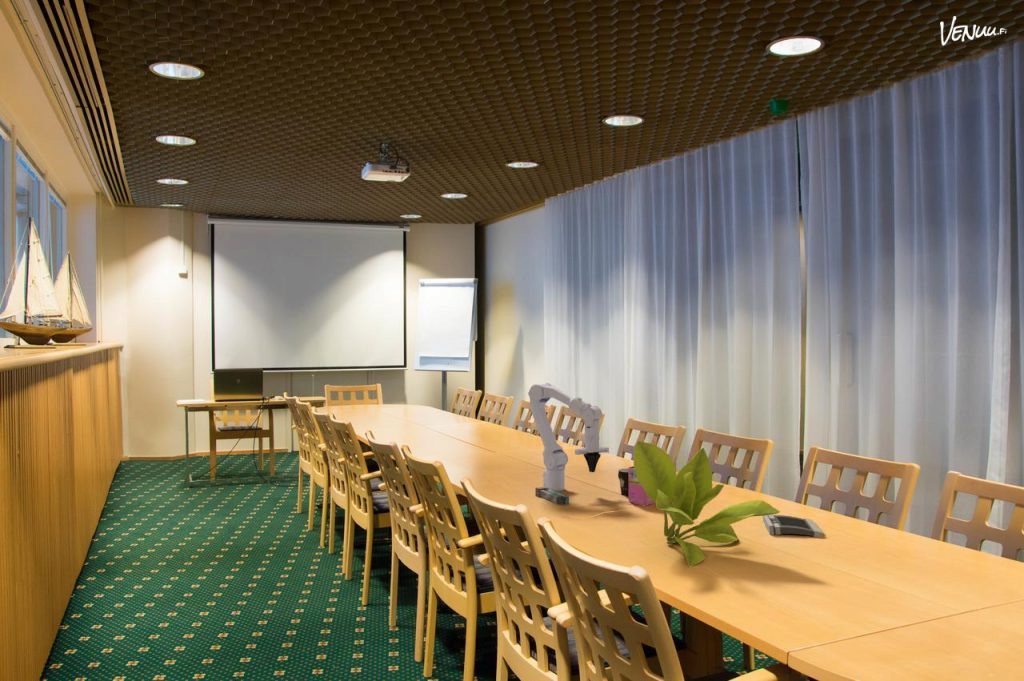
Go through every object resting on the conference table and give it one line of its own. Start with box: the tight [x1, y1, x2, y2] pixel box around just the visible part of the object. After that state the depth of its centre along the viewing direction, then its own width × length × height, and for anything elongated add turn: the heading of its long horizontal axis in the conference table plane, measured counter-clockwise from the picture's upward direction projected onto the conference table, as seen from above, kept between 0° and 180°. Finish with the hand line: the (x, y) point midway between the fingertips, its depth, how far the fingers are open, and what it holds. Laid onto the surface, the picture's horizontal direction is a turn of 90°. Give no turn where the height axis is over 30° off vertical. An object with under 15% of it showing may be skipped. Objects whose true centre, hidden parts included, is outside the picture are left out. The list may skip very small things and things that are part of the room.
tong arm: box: [547, 490, 570, 505], centre depth 286 cm, size 14×2×3 cm, turn 26°
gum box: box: [628, 461, 677, 506], centre depth 291 cm, size 24×8×14 cm, turn 137°
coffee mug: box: [617, 467, 629, 497], centre depth 299 cm, size 12×9×10 cm
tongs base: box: [534, 486, 565, 506], centre depth 288 cm, size 19×4×4 cm, turn 26°
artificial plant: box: [632, 440, 781, 567], centre depth 224 cm, size 42×43×30 cm
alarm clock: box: [762, 514, 824, 538], centre depth 245 cm, size 17×5×16 cm
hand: (592, 471), depth 298 cm, fingers closed
